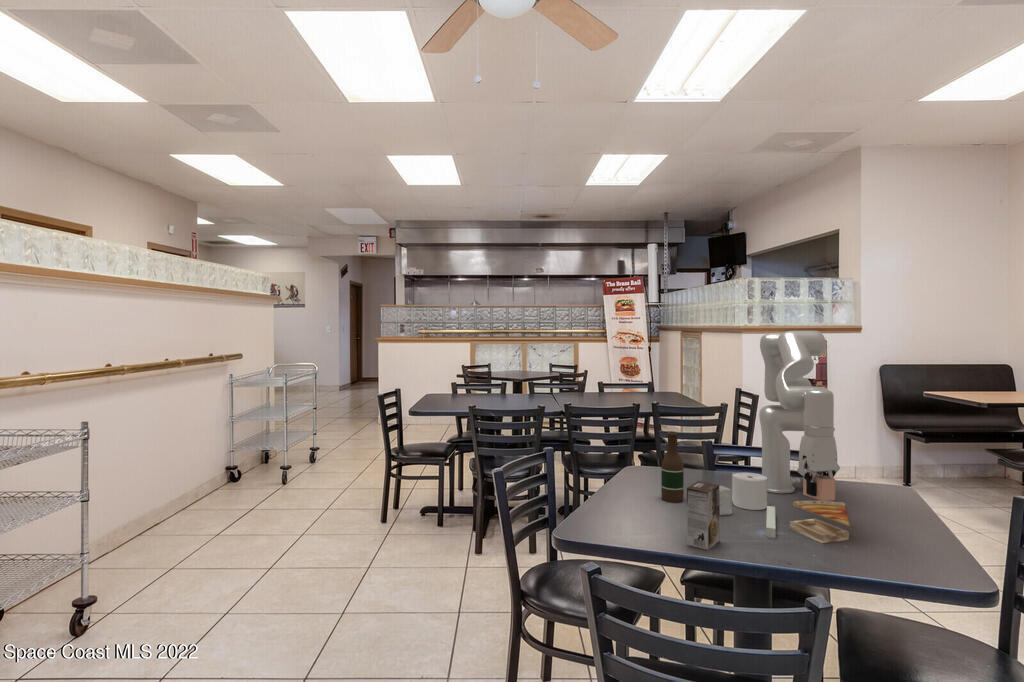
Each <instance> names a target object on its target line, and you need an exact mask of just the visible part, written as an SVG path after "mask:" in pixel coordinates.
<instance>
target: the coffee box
mask: <svg viewBox="0 0 1024 682" xmlns="http://www.w3.org/2000/svg"><path fill="white" fill-rule="evenodd" d="M719 486H720V484H716V483H710V482H707V481H703V480H702V481H701V480H697V481H696V482H694V483H692V484H691V485H689V486H688V487H686V545H687V546H691V547H694V548H699V549H701V550H706V549H707V550H706V551H710V549H712V548H713V547H714V546H715V545H716V544H718V542H720V540H721V536H720V533H721V531H720V528H721V525H720V524H721V523H720V522H721V521H720V516H721V515H720V506H719Z"/></svg>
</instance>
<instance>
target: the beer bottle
mask: <svg viewBox="0 0 1024 682" xmlns="http://www.w3.org/2000/svg"><path fill="white" fill-rule="evenodd" d="M666 435H667V447H666V455H665V456H664V458H663V459H662V463H661V467H660V468H661V471H660V472H661V475H660V476H661V483H660V484H661V500H663V501H665V502H668V503H682V502H683V500H684V492H685V491H684V486H685V485H684V484H685V483H684V478H685V477H684V474H685V473H684V472H685V471H684V462H683V459H682V457H681V456H680V453H679V448H678V435H679V434H678V432H677V431H672V430H671V431H668V432H667V433H666Z"/></svg>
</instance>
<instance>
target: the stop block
mask: <svg viewBox="0 0 1024 682" xmlns="http://www.w3.org/2000/svg"><path fill="white" fill-rule="evenodd" d="M811 474H812V473H810V476H811ZM802 479H803V481H802V482H803V485H802V486H803V487H802V491H803V492H802V495H804V496H807V497H810V498H812V499H815V500H817V501H835V500H836V478H834V477H833V478H830V476H826V475H822V474H819V473H818V472H817V473H816V478H815V482H816V483H817V496H811V495H808V494H807V493H806V480H804V477H803V476H802Z"/></svg>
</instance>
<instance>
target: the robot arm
mask: <svg viewBox="0 0 1024 682" xmlns="http://www.w3.org/2000/svg"><path fill="white" fill-rule="evenodd" d="M759 349H760V353H761V356H762V359H763V363H764V387H763V388H764V389H763V390H764V397H765V399H766V400H767V401H769V402H774V403H779V404H769V405H765V406H763V407H761V408H760V410H759V423H760V430H761V475H763V476H766V477H767V493H772V494H792V493H794V492H795V490H796V488H795V486H793V485H794V484H800V483H801V478H800V477H792V476H791V444H790V440H789V439H788V438H787V436H785V435H784V433H783V432H803V433H804V434H803V435H801V440H800V444H799V449H798V467H797V469H796V470H797V471H796V472H797V473H798V474H800V475H801V476H802V478H803V477H804V480H806V493H807V494H808V495H811V496H817V483H816V482H815V478H816V473H817V474H818V473H821V475H826V476H830V478H834V477H835V476H836V474H837V473H838V472H839V471H840V470H841V467H840V465H839V464H838V447H837V442H836V438H835V433H834V432H835V430H836V429H835V427H834V425H835V424H834V423H835V418H834V416H835V415H834V411H835V409H834V408H835V407H834V406H835V405H834V404H835V403H834V402H835V401H834V399H835V398H834V393H833V391H831V390H829V389H827V388H826V387H825V386H824V387H823V386H813V385H812V383H811V381H810V380H809V379H808V378H807V377H805V376H806V375H808V374H810V373H812V371H813V370H814V367H815V364H814V361H813V358H812V357H819V356H822V355H823V354H825V352H826V350H827V341H826V338H825V336H824V334H823V333H822V332H820V331H819V330H787V331H785V332H771V333H770V332H769V333H765V334H763V335H762V336H761V337H760V339H759ZM811 473H812V474H811ZM810 474H811V476H810Z"/></svg>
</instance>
